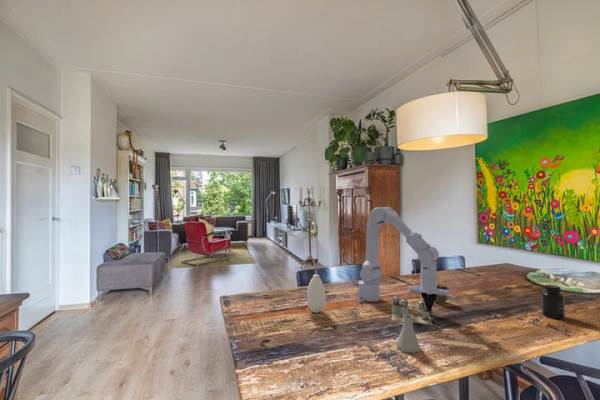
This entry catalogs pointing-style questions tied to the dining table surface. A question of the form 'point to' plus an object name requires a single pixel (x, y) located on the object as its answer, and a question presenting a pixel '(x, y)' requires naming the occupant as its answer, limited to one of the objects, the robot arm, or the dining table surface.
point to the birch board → (417, 318)
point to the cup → (441, 298)
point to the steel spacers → (406, 310)
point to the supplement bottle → (553, 302)
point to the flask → (408, 336)
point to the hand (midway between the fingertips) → (428, 312)
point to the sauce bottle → (316, 294)
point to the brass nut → (413, 310)
